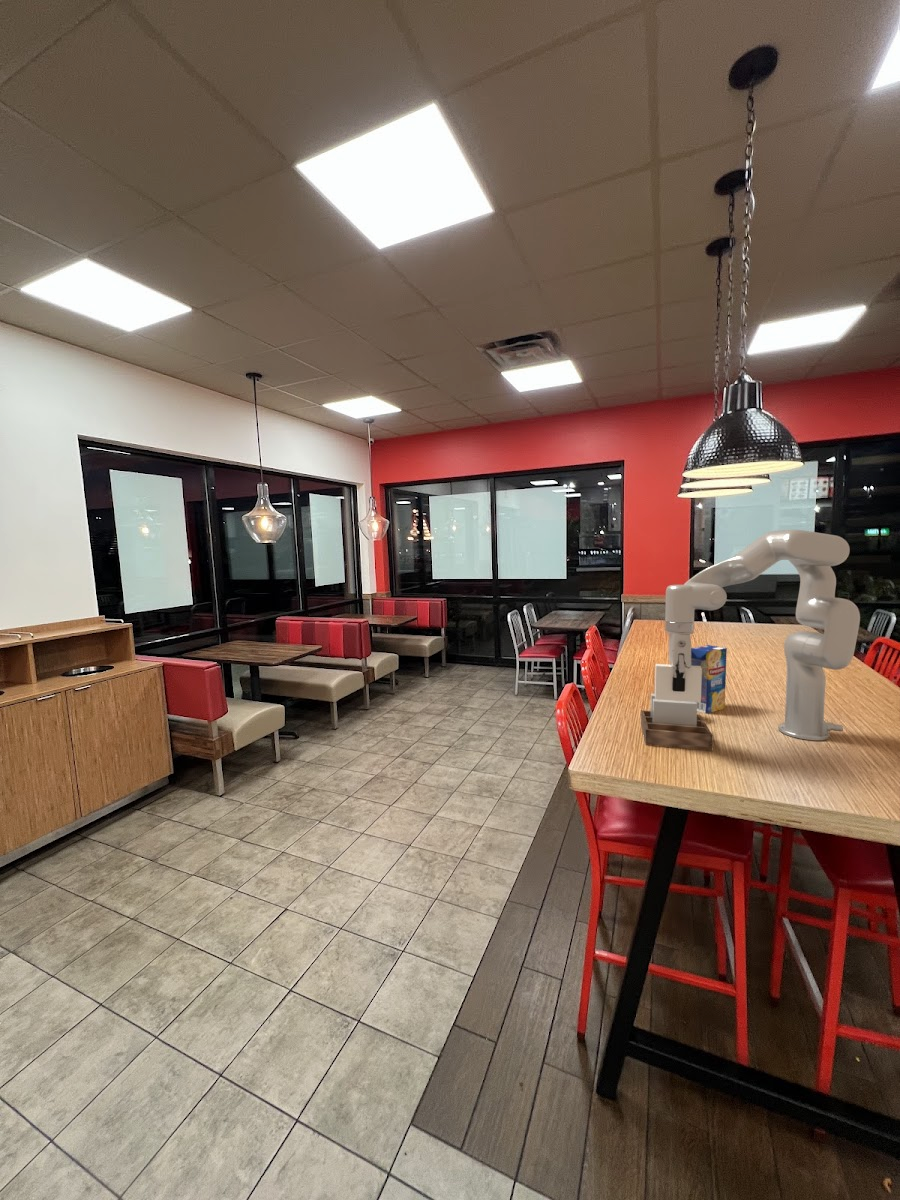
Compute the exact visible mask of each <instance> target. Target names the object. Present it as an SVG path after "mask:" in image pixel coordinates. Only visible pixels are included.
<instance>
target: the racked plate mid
mask: <svg viewBox="0 0 900 1200" xmlns="http://www.w3.org/2000/svg"><path fill="white" fill-rule="evenodd" d="M697 714H698V711H697V703H696V702H688V701H673V700H658V699H653V715H652V723H660V724H672V725H685V726H697Z"/></svg>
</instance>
